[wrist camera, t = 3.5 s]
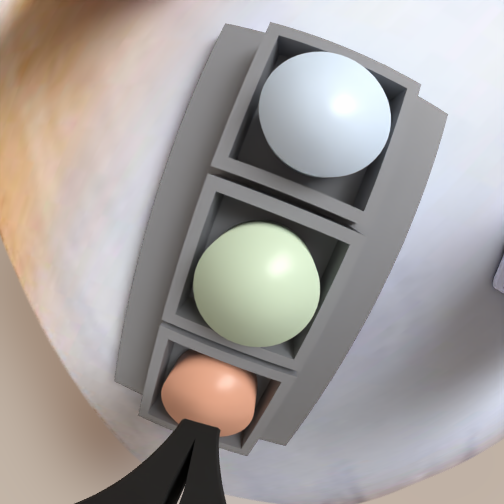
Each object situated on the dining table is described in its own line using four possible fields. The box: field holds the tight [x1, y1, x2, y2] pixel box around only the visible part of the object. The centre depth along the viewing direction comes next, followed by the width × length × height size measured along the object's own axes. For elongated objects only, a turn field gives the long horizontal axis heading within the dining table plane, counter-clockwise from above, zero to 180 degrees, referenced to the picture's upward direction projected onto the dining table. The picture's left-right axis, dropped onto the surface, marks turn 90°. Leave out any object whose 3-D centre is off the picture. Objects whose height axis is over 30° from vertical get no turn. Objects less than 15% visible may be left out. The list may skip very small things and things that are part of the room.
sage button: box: [193, 220, 320, 347], centre depth 11 cm, size 4×4×2 cm
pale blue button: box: [259, 52, 391, 178], centre depth 10 cm, size 4×4×2 cm
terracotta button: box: [161, 349, 258, 437], centre depth 14 cm, size 4×4×2 cm
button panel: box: [114, 22, 448, 456], centre depth 13 cm, size 11×20×3 cm, turn 159°
